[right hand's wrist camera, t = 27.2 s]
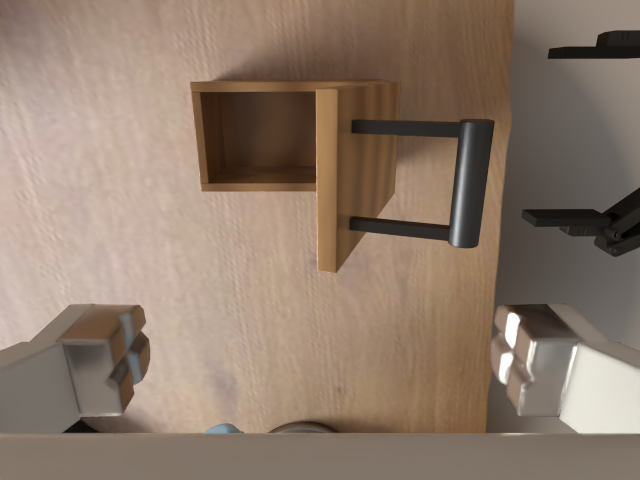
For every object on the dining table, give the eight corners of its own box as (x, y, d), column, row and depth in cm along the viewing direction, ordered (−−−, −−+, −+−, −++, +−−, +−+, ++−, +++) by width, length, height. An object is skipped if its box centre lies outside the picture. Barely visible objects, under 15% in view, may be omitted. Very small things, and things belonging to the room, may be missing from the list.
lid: (316, 271, 25) (473, 293, 22) (315, 88, 21) (501, 89, 19) (382, 192, 41) (477, 199, 38) (387, 81, 38) (492, 81, 35)
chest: (220, 172, 50) (201, 191, 41) (213, 80, 46) (189, 82, 38) (376, 171, 50) (387, 191, 41) (380, 79, 46) (393, 81, 38)
